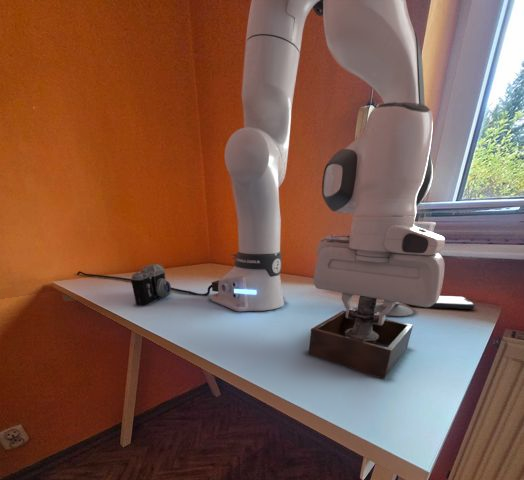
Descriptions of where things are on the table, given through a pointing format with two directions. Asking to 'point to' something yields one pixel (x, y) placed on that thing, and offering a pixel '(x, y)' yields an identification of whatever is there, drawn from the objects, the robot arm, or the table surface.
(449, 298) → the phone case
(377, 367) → the crate
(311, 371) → the table surface
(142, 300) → the camera
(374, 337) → the salt shaker
